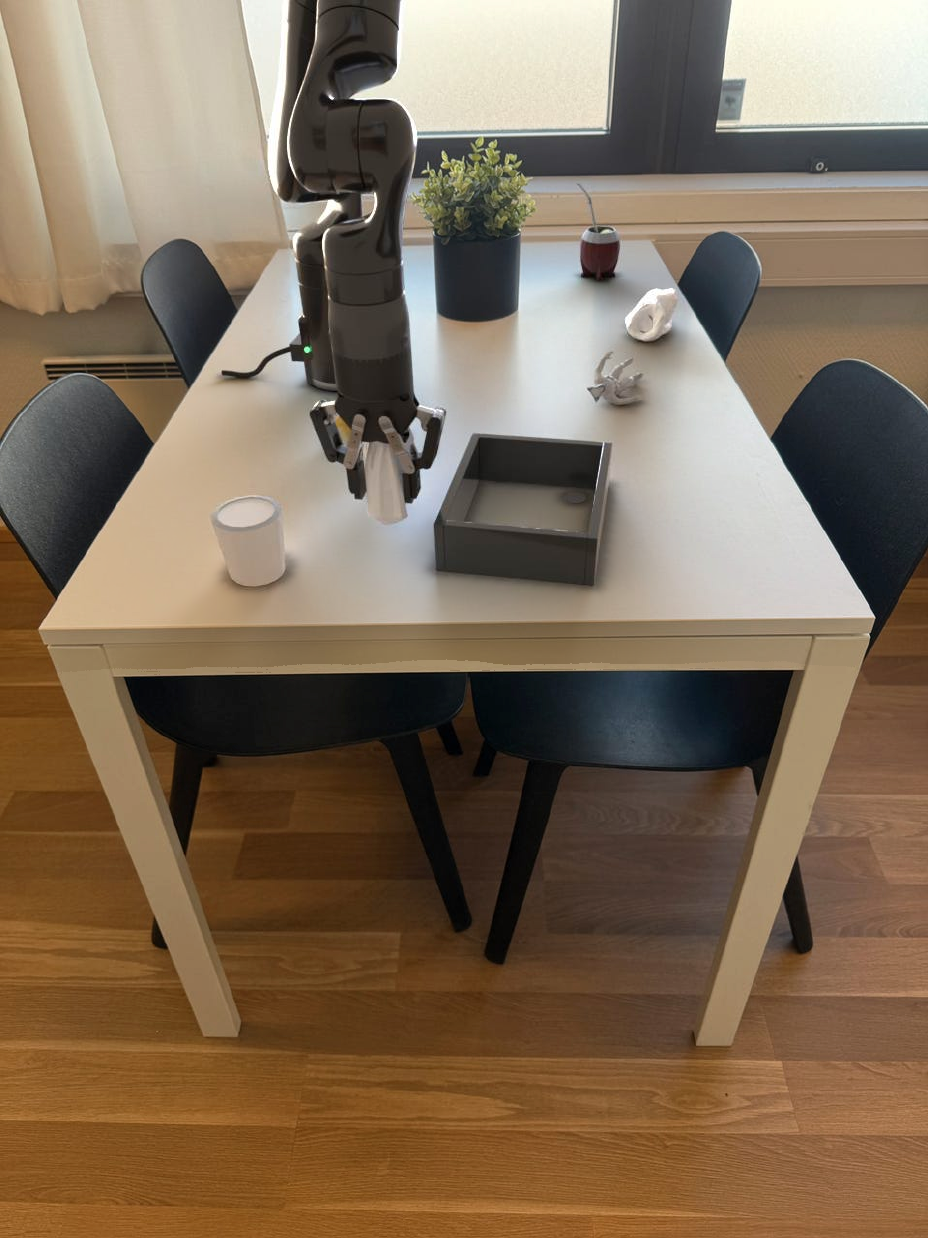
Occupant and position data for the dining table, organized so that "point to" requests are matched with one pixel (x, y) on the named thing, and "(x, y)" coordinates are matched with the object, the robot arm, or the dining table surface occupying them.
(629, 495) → the dining table surface
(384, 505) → the shaker set
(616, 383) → the soldier figure
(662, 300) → the white irregular lump
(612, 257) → the mate gourd
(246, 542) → the white cylinder
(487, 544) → the grey open box
